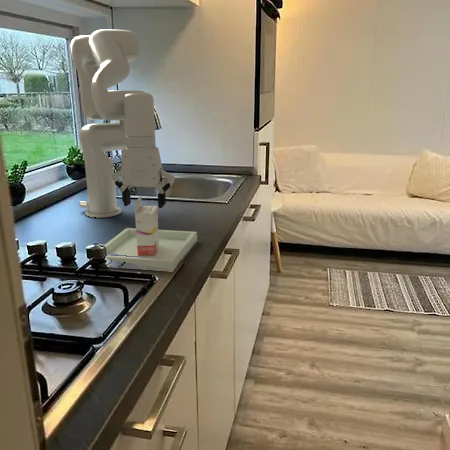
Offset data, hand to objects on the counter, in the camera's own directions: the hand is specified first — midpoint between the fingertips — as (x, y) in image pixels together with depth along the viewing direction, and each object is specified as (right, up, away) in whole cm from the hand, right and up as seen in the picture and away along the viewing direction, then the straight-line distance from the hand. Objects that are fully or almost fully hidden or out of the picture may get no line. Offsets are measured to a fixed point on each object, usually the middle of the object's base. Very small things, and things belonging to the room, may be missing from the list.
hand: (144, 206), depth 129 cm
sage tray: (0, -13, +4) cm, 13 cm away
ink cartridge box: (+1, -12, +4) cm, 13 cm away
